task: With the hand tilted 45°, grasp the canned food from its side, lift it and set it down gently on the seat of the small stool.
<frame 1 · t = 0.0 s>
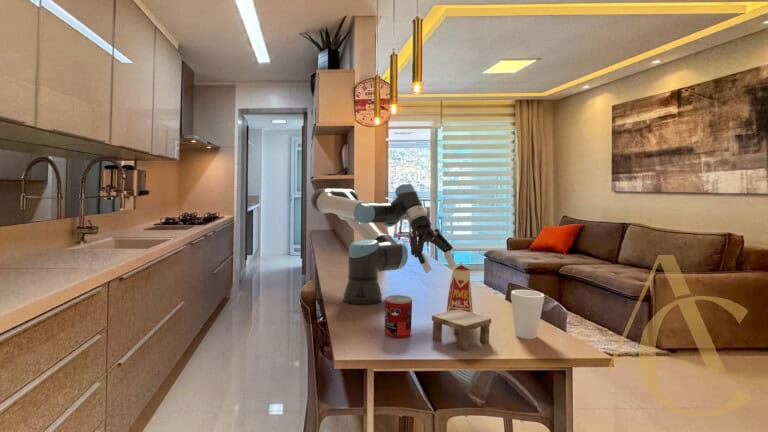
hand: (441, 269, 149), 15 cm above the table, tool tilted 35°, fingers open, 13 cm apart
stool: (460, 340, 120), on the table
milk carton: (459, 318, 143), on the table
canned food: (397, 334, 124), on the table
foam cup: (525, 336, 126), on the table
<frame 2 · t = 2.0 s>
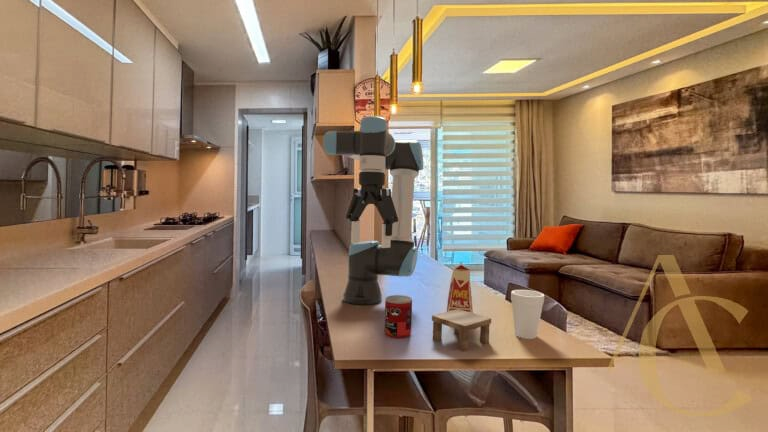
hand: (369, 245, 120), 27 cm above the table, tool pointing down, fingers open, 13 cm apart
nothing on the table moved.
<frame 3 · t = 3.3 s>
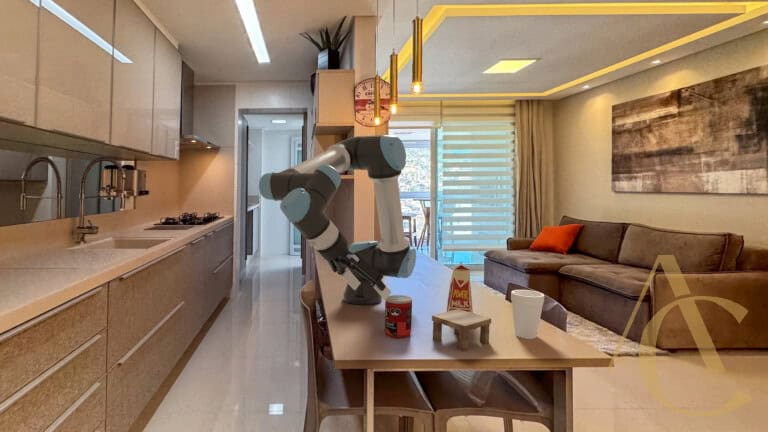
hand: (371, 290, 117), 15 cm above the table, tool tilted 45°, fingers open, 13 cm apart
nothing on the table moved.
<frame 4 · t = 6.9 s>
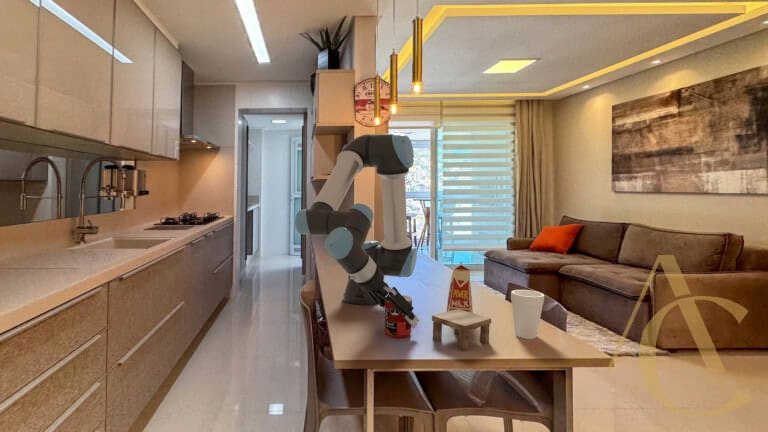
hand: (406, 320, 126), 4 cm above the table, tool tilted 45°, fingers closed on canned food, 8 cm apart
canned food: (397, 334, 124), on the table, touching gripper
everything else where it was.
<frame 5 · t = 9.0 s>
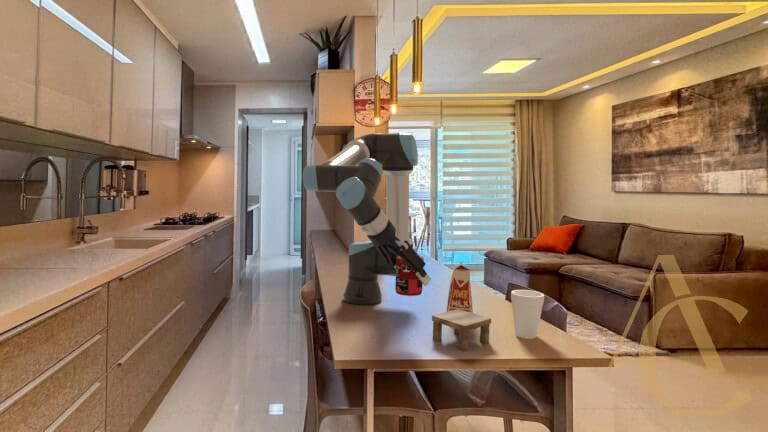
hand: (417, 279, 124), 17 cm above the table, tool tilted 45°, fingers closed on canned food, 8 cm apart
canned food: (408, 293, 122), point 13 cm above the table, touching gripper
everything else where it was.
when the fingers open (12 cm above the table, at t = 11.4 s): canned food stays where it is, resting on stool.
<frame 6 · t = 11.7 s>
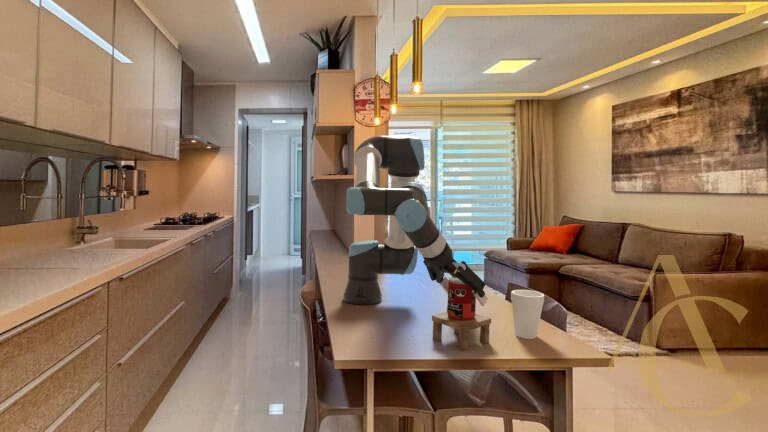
hand: (468, 297, 121), 12 cm above the table, tool tilted 45°, fingers open, 11 cm apart
canned food: (461, 317, 120), point 7 cm above the table, touching stool
everything else where it was.
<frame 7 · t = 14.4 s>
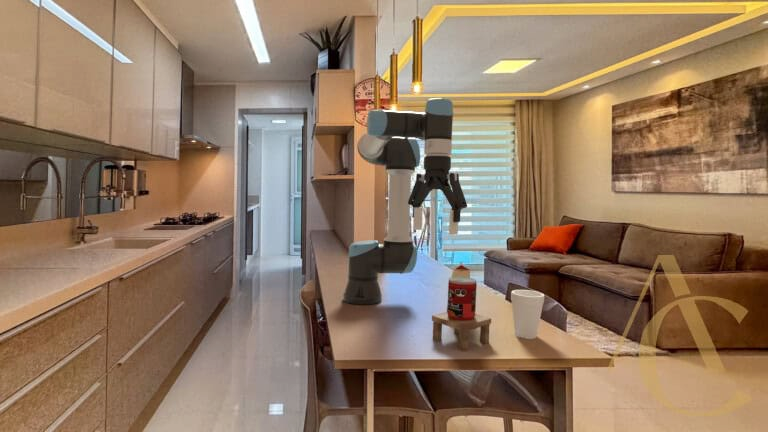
hand: (434, 232, 116), 32 cm above the table, tool pointing down, fingers open, 13 cm apart
nothing on the table moved.
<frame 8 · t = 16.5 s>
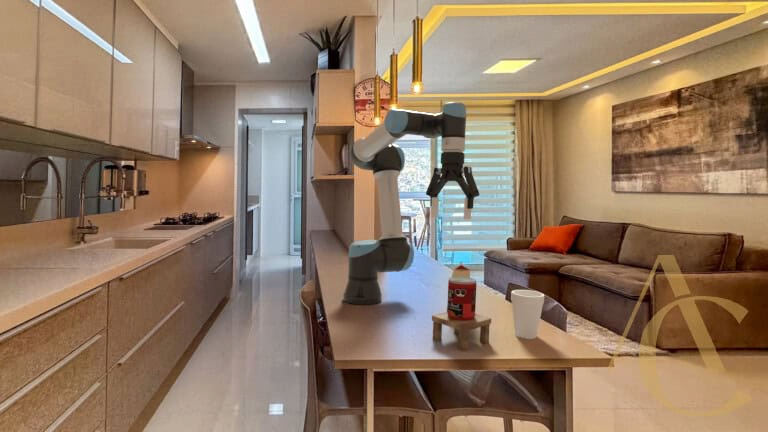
hand: (450, 218, 134), 35 cm above the table, tool pointing down, fingers open, 13 cm apart
nothing on the table moved.
at the end: canned food inside the target area on the stool (0.1 cm from its centre), point 6.8 cm above the stool's base; canned food tilted 0°; the gripper is holding nothing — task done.
